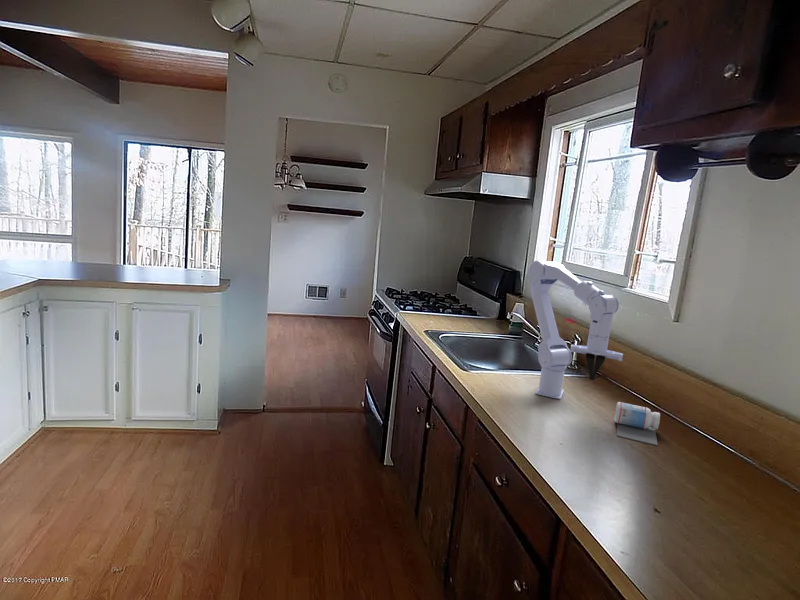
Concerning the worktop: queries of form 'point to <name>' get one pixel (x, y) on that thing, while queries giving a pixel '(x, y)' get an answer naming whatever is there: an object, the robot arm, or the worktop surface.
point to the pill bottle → (636, 416)
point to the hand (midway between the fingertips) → (591, 379)
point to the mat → (637, 434)
